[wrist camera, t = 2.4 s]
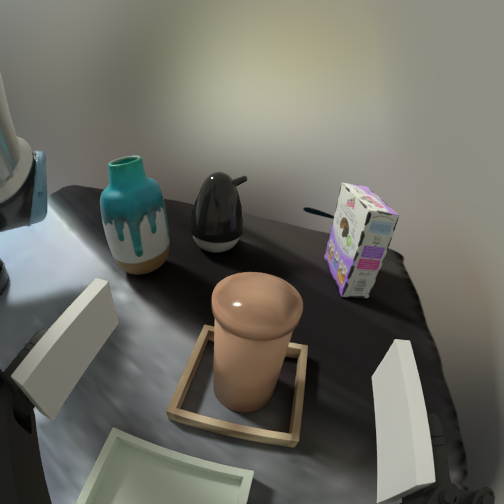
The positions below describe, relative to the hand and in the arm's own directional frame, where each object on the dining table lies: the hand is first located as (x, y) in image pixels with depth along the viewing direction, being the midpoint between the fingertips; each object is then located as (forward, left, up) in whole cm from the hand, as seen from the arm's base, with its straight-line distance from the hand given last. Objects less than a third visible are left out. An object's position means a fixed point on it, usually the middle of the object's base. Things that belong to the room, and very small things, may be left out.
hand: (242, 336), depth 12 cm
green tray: (-4, -8, -20) cm, 22 cm away
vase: (-22, +28, -20) cm, 41 cm away
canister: (0, +10, -20) cm, 23 cm away
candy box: (+14, +38, -20) cm, 45 cm away
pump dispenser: (-12, +40, -20) cm, 47 cm away
